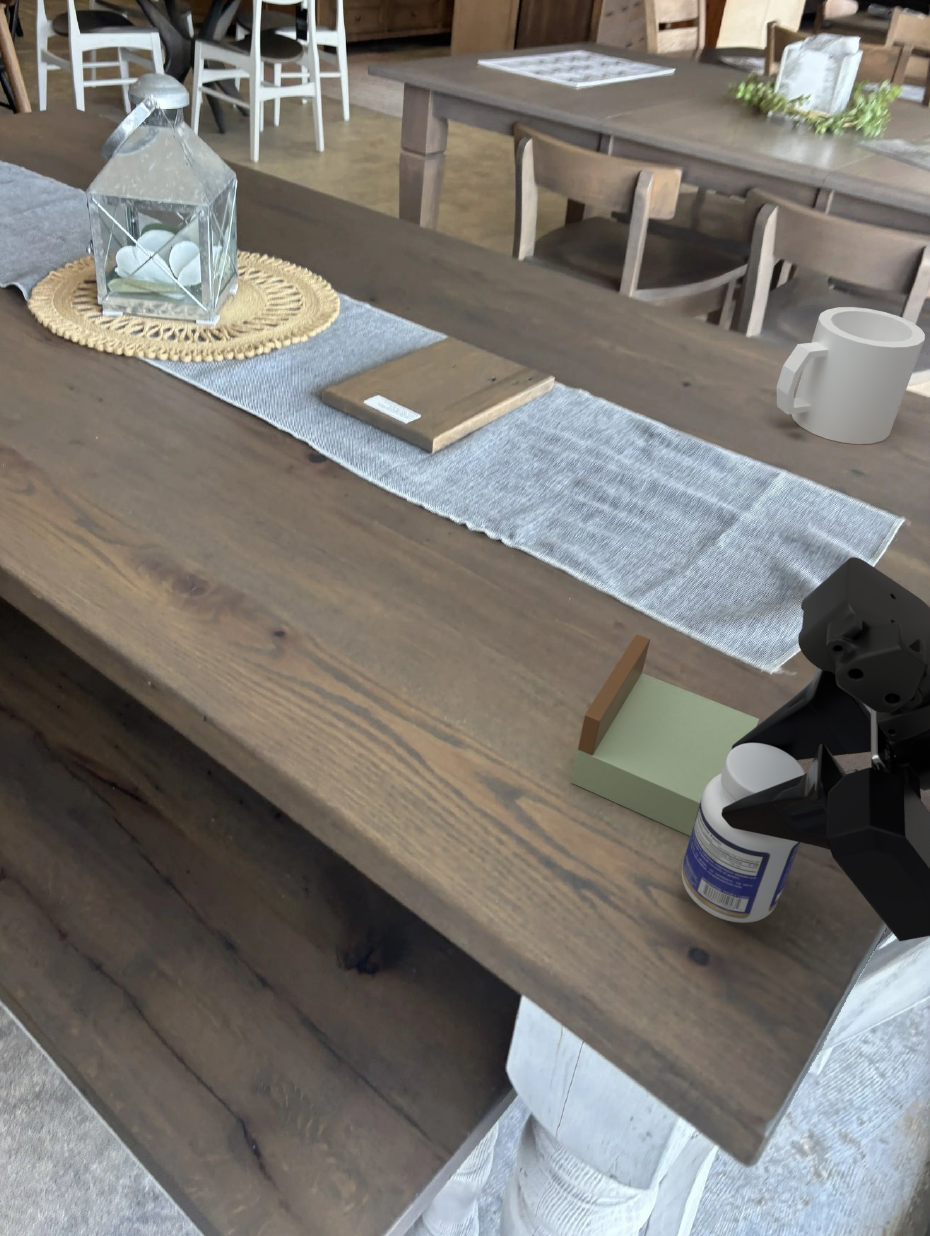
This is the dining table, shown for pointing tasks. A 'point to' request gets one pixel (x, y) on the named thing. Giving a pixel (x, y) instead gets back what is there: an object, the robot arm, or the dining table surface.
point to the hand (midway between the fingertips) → (730, 785)
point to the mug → (851, 374)
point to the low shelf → (654, 743)
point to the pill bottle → (739, 840)
